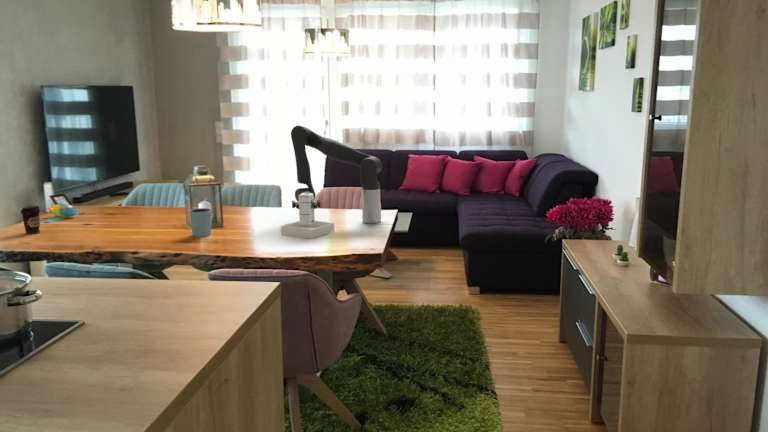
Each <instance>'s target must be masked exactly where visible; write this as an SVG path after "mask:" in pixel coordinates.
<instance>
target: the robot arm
mask: <svg viewBox="0 0 768 432" xmlns="http://www.w3.org/2000/svg"><path fill="white" fill-rule="evenodd" d="M290 137H291V143H292V146H293V147H292V148H293V152H294V157H295V164H296V176H297V177H296V178H297V183H298V184H302V185H306V186H307V187H300V188H299V187H298V188H296V190H294V198H295V200H296V201H295V200H291V208H292V209H297V210H299V195H300V194H302V193H313V194H314V210H316V209H317V208H321V200H320V199H318V200H315V199H316V191H315V189H314V187H313V183H312V176H311V166H310V162H309V159H308V158H309V157H308V155H307V151H306V150H307V149H306V146H307V147H310V148H313V149H315V150H318V151H319V152H320V153H322V154H323V155H325V156H327V157H328V158H330V159H333V160H334V161H337V162H341V163H345V164H350V165H353V166H356V167H357V166H358V168H359V179H360V185H361V201H362V202H361V203H362V205H361V206H362V207H361V208H362V209H361V210H362V211H361V213H362V223H363V224H364V223H365V224H377V223H380V222H381V221H382V203H381V184H380V182H379V181H378V174H379V173H380V172H381V171H382V169H383V163H382V161H381V160H380V159H379V158H378V157H376V156H374V155H370V154H366V153H364V152H360V151H358V150H357V149H355V148H353V147H351V146H349V145H347V144H345V143H342V142H340V141H337V140H335V139H333V138H330V137H325V136H322V135H320V134H318V133H316V132H314V131H313V130H311V129H309V128H308V127H305V126H303V125H295V126H293V128H292V129H291V131H290Z"/></svg>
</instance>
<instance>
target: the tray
mask: <svg viewBox="0 0 768 432" xmlns="http://www.w3.org/2000/svg"><path fill="white" fill-rule="evenodd" d="M333 232H335V223H334V222H330V221H329V222H328V221H323V220H322V221H321V220H315V222H314V223H312V224H311V225H302V224H300V220H297V221H294V222H290V223H287V224H283V225H280V234H281V235H284V236H285V235H286V236H291V237H299V238H304V239H305V238H306V239H313V238H317V237H320V236H324V235H326V234H330V233H333Z"/></svg>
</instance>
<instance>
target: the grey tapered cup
mask: <svg viewBox="0 0 768 432" xmlns="http://www.w3.org/2000/svg"><path fill="white" fill-rule="evenodd" d="M188 213H189V217H190V218H189V219H190V224H191V225H190V226H191V233H192V236H193V237H195V238H198V237H199V238H200V237H201V238H202V237H209V236H212V209H211V208H204V207H203V208H193V209H190V210H188Z"/></svg>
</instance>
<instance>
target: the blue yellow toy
mask: <svg viewBox="0 0 768 432" xmlns="http://www.w3.org/2000/svg"><path fill="white" fill-rule="evenodd" d="M46 209H47V210H48V211H49V214H53V216H52V217H48V218H46V219H45V218H44V220H42V221H40V224H41V223H44V224H45V223H46V224H47V223H48V224H49V223H53V222H56V221H60V220H63V219H67V218H70V217H73V216H77V215H79V214H82V212H81V211H79V209H78V207H76V206H74V205H71V204H70V205H69V204H67V203H66V202H64V203H63V202H58V203H57V204H55V205H52V204H51V207H50V206H47V207H46Z"/></svg>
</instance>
